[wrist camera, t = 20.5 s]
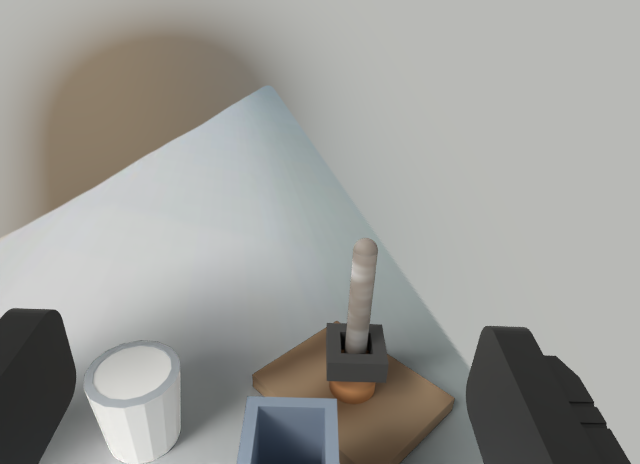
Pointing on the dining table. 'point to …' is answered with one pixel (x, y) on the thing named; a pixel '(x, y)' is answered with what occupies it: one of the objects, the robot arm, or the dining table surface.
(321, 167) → the dining table surface
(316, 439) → the sleeve
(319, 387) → the post stand
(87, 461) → the dining table surface
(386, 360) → the ring
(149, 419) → the white cup
